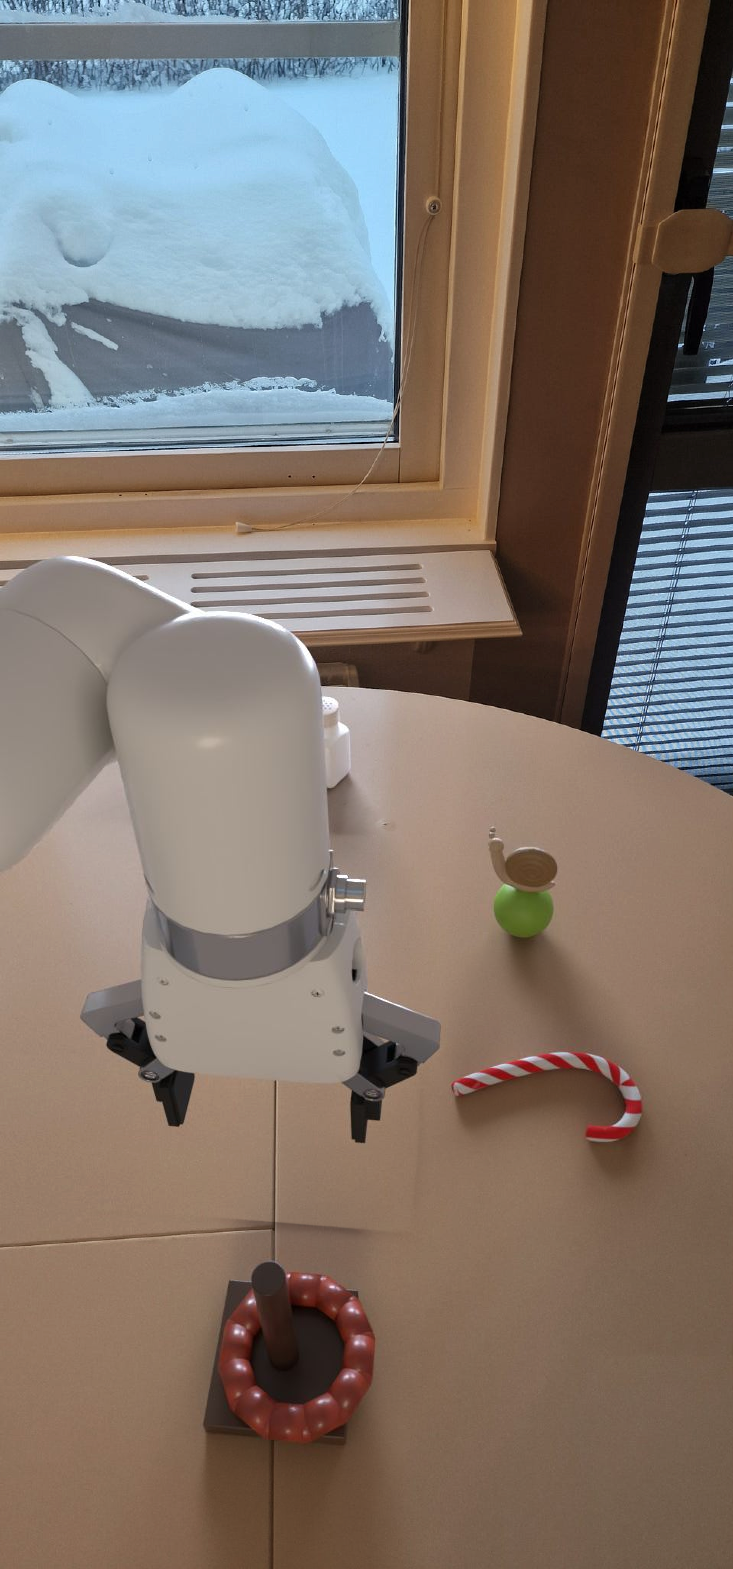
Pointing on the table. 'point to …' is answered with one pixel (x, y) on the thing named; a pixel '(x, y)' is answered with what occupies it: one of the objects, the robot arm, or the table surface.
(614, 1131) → the candy cane
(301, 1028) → the robot arm
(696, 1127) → the table surface
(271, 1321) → the post
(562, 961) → the table surface
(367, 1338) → the ring
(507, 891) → the snail figurine
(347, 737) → the pepper shaker
